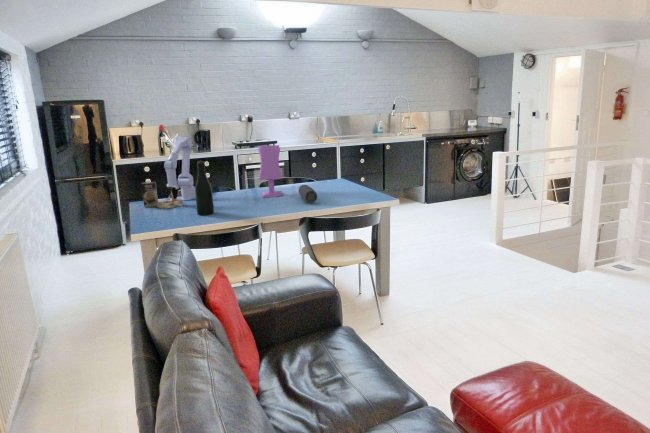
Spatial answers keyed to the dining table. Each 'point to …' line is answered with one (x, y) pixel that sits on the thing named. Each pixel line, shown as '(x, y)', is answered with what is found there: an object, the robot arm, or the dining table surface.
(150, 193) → the coffee box
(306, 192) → the bluetooth speaker
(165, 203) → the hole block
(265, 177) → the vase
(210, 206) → the beer bottle
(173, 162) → the robot arm
